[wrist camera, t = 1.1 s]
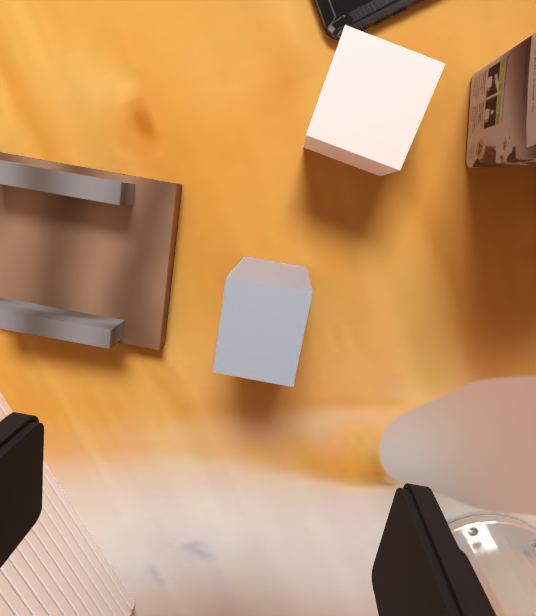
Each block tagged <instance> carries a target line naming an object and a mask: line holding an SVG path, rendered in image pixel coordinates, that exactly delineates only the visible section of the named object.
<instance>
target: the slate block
mask: <svg viewBox="0 0 536 616" xmlns="http://www.w3.org/2000/svg"><path fill="white" fill-rule="evenodd" d="M312 293H313V292H312V287H311V283H310V278H309V273H308V268H307V267H303V266H298V265H292V264H287V263H281V262H275V261H270V260H264V259H259V258H253V257H248V256H244V257H243V258H242V259H241V261H240V262H239V263H238V264H237V265H236V266H235V268H234V269H233V270H232V271H231V272H230V273H229V275H228V276H227V277H226V283H225V290H224V297H223V304H222V311H221V318H220V325H219V331H218V338H217V345H216V352H215V359H214V366H213V372H214V373H219V374H225V375H230V376H236V377H241V378H247V379H252V380H257V381H263V382H268V383H274V384H279V385H285V386H290V387H293V385H294V381H295V376H296V371H297V366H298V361H299V356H300V351H301V346H302V342H303V337H304V332H305V327H306V322H307V317H308V312H309V308H310V303H311V298H312Z"/></svg>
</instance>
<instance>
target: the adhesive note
mask: <svg viewBox="0 0 536 616" xmlns="http://www.w3.org/2000/svg"><path fill="white" fill-rule="evenodd" d="M444 66H445V63H442V62H440V61H437V60H435V59H432V58H429V57H427V56H424V55H422V54H419V53H417V52H414V51H411V50H409V49H406V48H404V47H401V46H399V45H396V44H393V43H391V42H388V41H386V40H383V39H380V38H378V37H375V36H373V35H370V34H368V33H365V32H362V31H360V30H357V29H355V28H352V27H350V26H347V25H345V26H344V29H343V32H342V35H341V38H340V41H339V43H338V46H337V49H336V52H335V55H334V57H333V60H332V63H331V66H330V69H329V72H328V74H327V77H326V80H325V83H324V86H323V88H322V91H321V94H320V97H319V100H318V102H317V105H316V108H315V111H314V114H313V117H312V119H311V122H310V125H309V128H308V131H307V133H306V137H305V143H304V148H306V149H309V150H311V151H314V152H317V153H319V154H322V155H325V156H327V157H330V158H333V159H335V160H338V161H341V162H343V163H346V164H349V165H351V166H354V167H356V168H359V169H362V170H364V171H367V172H370V173H372V174H375V175H378V176H383V175H386V174H390V173H393V172H397V171H400V170H401V168H402V165H403V163H404V160H405V158H406V156H407V153H408V151H409V149H410V146H411V144H412V142H413V139H414V137H415V135H416V132H417V130H418V127H419V125H420V123H421V120H422V118H423V116H424V113H425V111H426V109H427V106H428V104H429V102H430V99H431V97H432V94H433V92H434V90H435V87H436V85H437V83H438V80H439V78H440V76H441V73H442V71H443V69H444Z"/></svg>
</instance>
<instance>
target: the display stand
mask: <svg viewBox="0 0 536 616" xmlns="http://www.w3.org/2000/svg"><path fill="white" fill-rule="evenodd" d="M181 190H182V185H181V184H175V183H170V182H164V181H158V180H153V179H147V178H141V177H136V176H130V175H124V174H119V173H113V172H108V171H102V170H96V169H91V168H85V167H79V166H74V165H68V164H63V163H57V162H51V161H46V160H40V159H34V158H29V157H23V156H17V155H12V154H6V153H1V152H0V329H4V330H9V331H15V332H20V333H26V334H31V335H37V336H42V337H48V338H53V339H58V340H64V341H69V342H75V343H80V344H86V345H91V346H97V347H102V348H108V349H110V348H111V347H112V346H114V345H115V344H116V343H122V344H127V345H133V346H138V347H144V348H149V349H155V350H160V349H161V347H162V346H163V345H164V344H165V336H166V327H167V318H168V309H169V300H170V291H171V282H172V272H173V263H174V254H175V245H176V236H177V227H178V218H179V209H180V200H181Z"/></svg>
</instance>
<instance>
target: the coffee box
mask: <svg viewBox="0 0 536 616" xmlns="http://www.w3.org/2000/svg"><path fill="white" fill-rule="evenodd" d="M466 165H467V167H469V168H484V167H501V166H519V165H536V33H535V34H533V35H532V36H530V37H529V38H527V39H526V40H524V41H523V42H521V43H520V44H518V45H517V46H515V47H514V48H512V49H511V50H509V51H508V52H506V53H504V54H503V55H502V56H500V57H499V58H497V59H496V60H495V61H493V62H491V63H490V64H488V65H487V66H485V67H484V68H482V69H481V70H479V71H478V72H476V73H475V74H473V76H472V82H471V95H470V109H469V125H468V140H467V156H466Z"/></svg>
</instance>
